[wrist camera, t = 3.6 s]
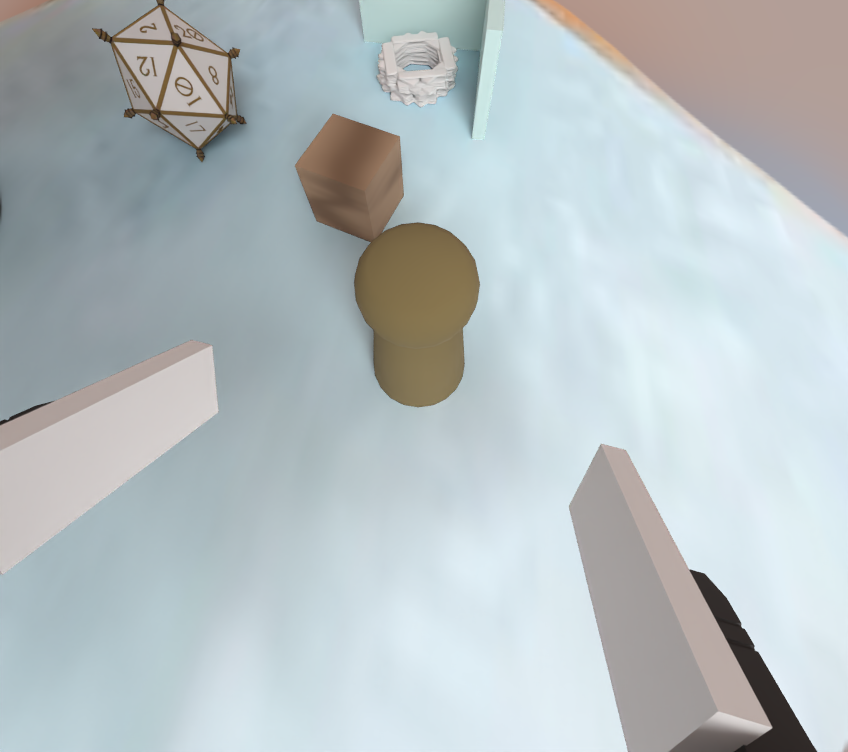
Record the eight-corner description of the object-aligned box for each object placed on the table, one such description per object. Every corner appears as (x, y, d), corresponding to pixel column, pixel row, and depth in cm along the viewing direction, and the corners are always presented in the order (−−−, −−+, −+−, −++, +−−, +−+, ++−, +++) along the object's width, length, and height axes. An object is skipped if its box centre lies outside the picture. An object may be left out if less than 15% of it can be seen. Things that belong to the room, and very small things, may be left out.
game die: (230, 157, 34) (197, 10, 29) (281, 165, 30) (255, -5, 24) (118, 158, 28) (50, -25, 23) (162, 169, 24) (91, -54, 19)
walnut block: (317, 221, 28) (294, 165, 23) (347, 175, 29) (332, 113, 24) (375, 244, 27) (364, 191, 22) (403, 196, 28) (399, 136, 24)
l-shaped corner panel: (366, 36, 34) (351, -85, 27) (491, 45, 34) (510, -74, 27) (343, 128, 31) (318, 16, 23) (484, 140, 30) (502, 30, 23)
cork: (429, 306, 25) (434, 174, 15) (482, 373, 24) (530, 278, 13) (356, 352, 24) (305, 244, 14) (407, 425, 23) (394, 367, 12)
